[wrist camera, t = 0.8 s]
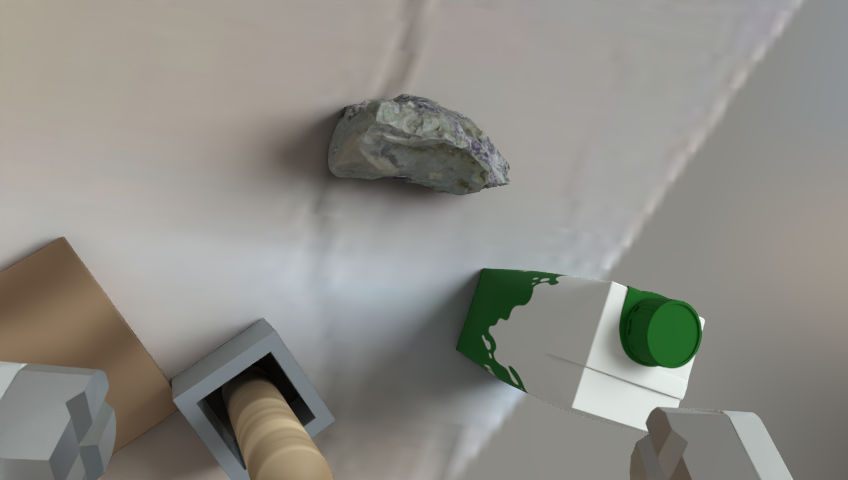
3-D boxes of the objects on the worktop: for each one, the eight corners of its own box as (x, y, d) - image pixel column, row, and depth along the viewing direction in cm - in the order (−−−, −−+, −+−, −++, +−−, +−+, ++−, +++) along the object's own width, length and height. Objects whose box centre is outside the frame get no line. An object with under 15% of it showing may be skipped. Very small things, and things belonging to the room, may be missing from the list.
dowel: (212, 384, 50) (241, 483, 32) (254, 355, 51) (307, 434, 33) (239, 423, 51) (284, 542, 32) (281, 394, 52) (347, 493, 33)
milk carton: (562, 287, 60) (741, 318, 42) (529, 386, 60) (698, 463, 41) (476, 253, 57) (628, 271, 39) (441, 358, 57) (579, 427, 38)
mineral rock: (501, 167, 58) (567, 157, 49) (420, 263, 56) (473, 272, 46) (393, 52, 54) (442, 18, 45) (302, 150, 52) (333, 135, 43)
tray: (-117, 341, 43) (-125, 344, 42) (63, 236, 46) (61, 237, 45) (23, 510, 46) (20, 517, 45) (183, 401, 50) (183, 405, 48)
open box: (171, 379, 49) (172, 400, 44) (263, 318, 51) (275, 330, 46) (231, 461, 51) (239, 491, 45) (317, 398, 53) (335, 420, 47)
